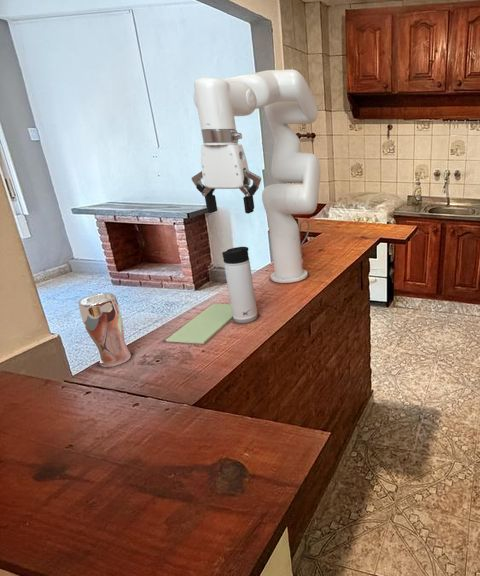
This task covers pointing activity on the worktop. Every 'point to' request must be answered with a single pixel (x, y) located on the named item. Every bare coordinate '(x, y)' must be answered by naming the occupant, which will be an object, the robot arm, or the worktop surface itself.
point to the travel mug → (240, 284)
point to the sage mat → (203, 325)
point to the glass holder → (300, 230)
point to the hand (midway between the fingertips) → (231, 212)
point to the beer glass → (105, 328)
